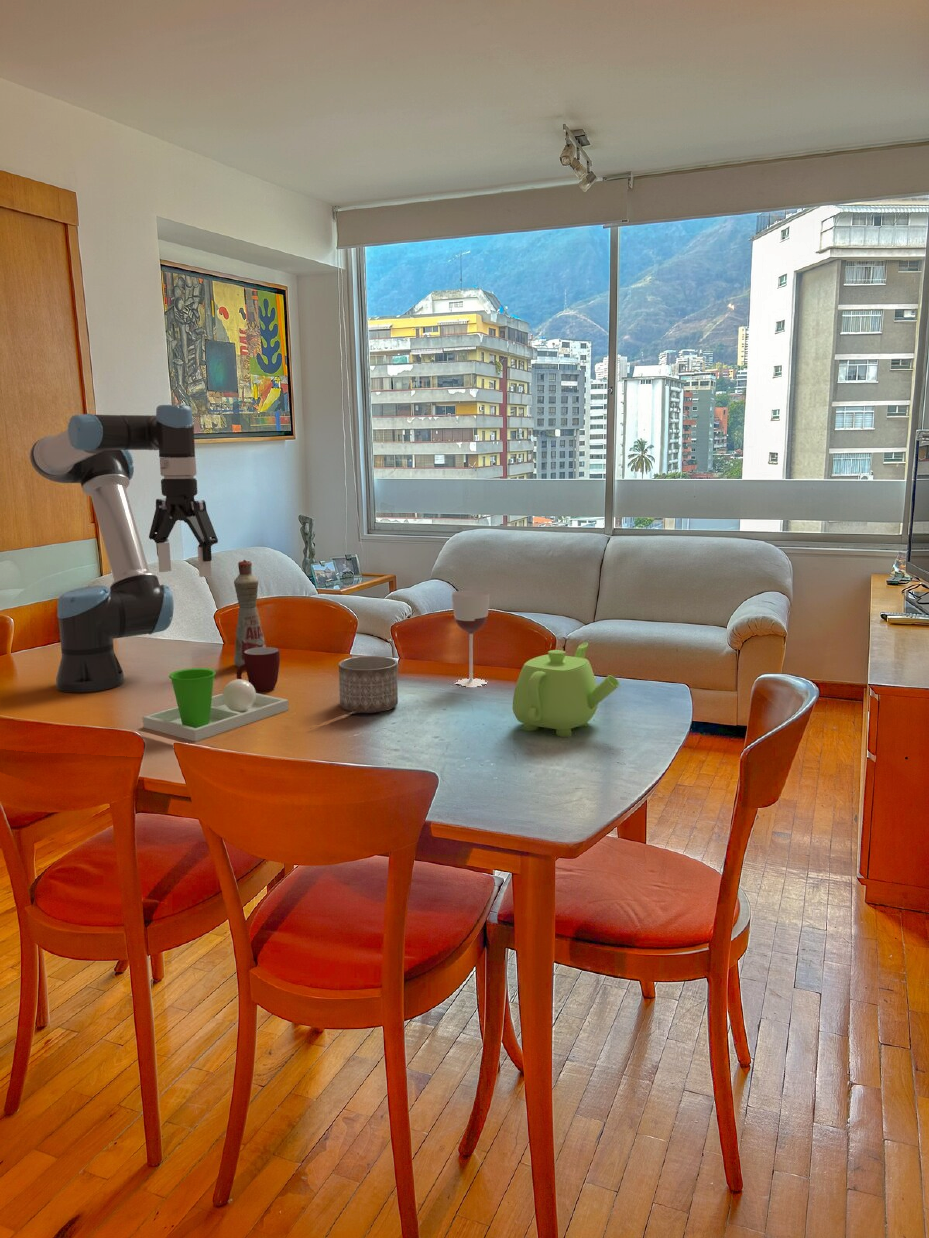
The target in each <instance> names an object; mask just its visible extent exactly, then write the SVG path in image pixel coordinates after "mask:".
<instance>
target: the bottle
mask: <svg viewBox="0 0 929 1238" xmlns="http://www.w3.org/2000/svg"><path fill="white" fill-rule="evenodd" d="M237 565H238V573H239V574H238V575H237V577H236V578H235V579H234V582H233V585H234V588H235V593H236V597H237V603H238V607H239V608H238V614H237V615H238V616H237V617H238V618H237V625H236V630H235V632H236V633H235V634H236V637H235V647H234V656H233V657H234V659H233V661H234V662H233V663H234V665H235V666H236V667H238V668H237V669H239V667H240V666H241V665H243V664H245V663H244V651H245V650H247V649H251V648H258V647H267V645H266V641H265V636H264V632H263V628H262V624H261V620H260V616H259V612H258V607H257V604H258V603H257V602H258V601H257V599H258V591H259V589H258V588H259V579H258V578H257V577H255V576H254V573H253V569H252V568H253V567H252V566H253V565H252V561H250V560H246V559H243V561H241V560H240V561H238V563H237Z"/></svg>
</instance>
